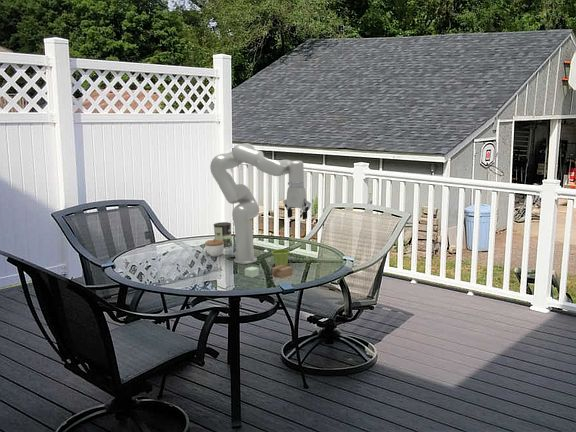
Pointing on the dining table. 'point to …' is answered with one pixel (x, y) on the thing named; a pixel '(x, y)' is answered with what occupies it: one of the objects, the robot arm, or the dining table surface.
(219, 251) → the lidded jar
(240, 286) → the dining table surface
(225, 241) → the coffee can
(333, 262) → the dining table surface
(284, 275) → the walnut base block
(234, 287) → the dining table surface
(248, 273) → the sage cube
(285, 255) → the plant pot
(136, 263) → the dining table surface
